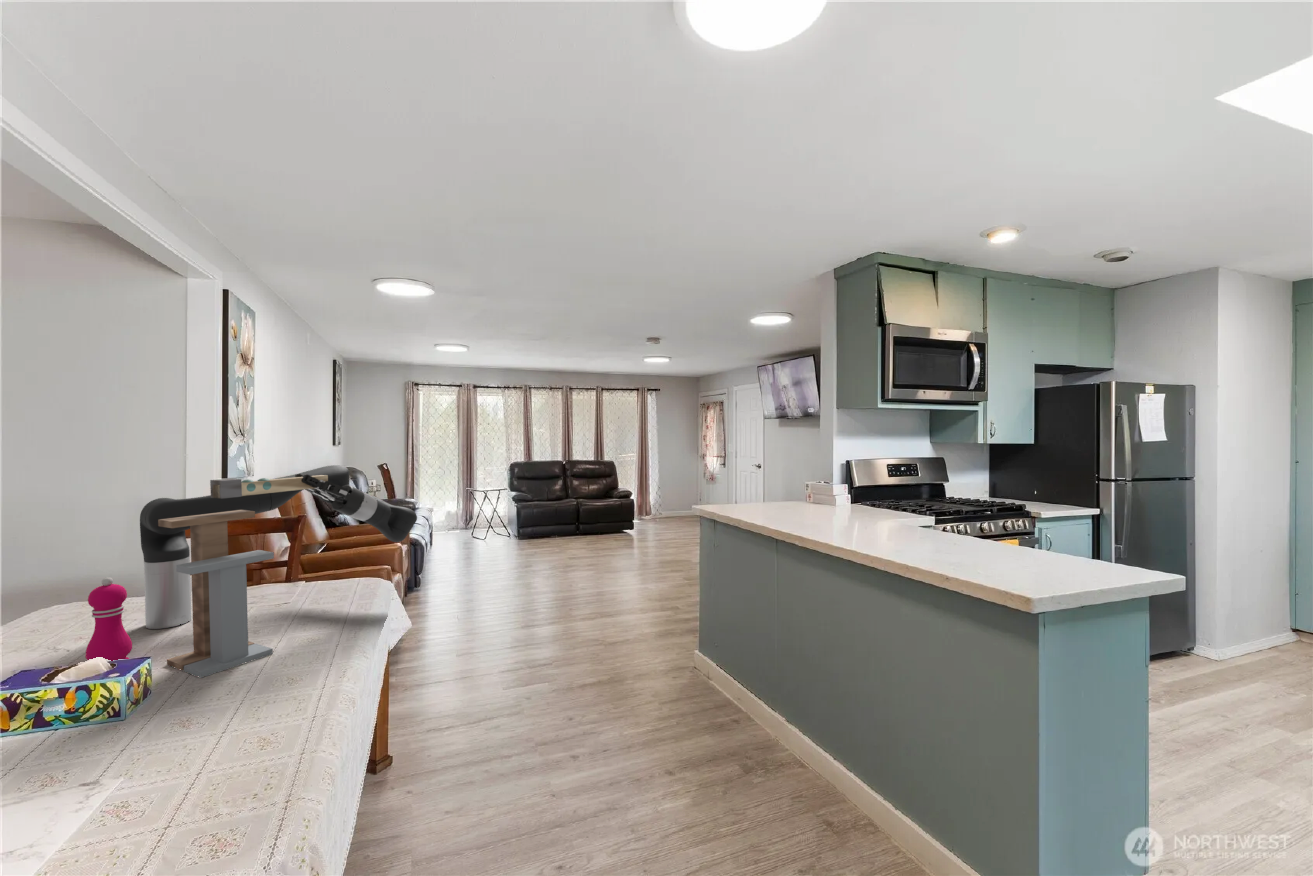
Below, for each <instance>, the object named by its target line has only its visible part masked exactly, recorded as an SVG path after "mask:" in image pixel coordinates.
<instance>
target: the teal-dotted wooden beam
mask: <svg viewBox="0 0 1313 876" xmlns="http://www.w3.org/2000/svg"><path fill="white" fill-rule="evenodd" d="M312 477H314V478H316V479H318V480H323V481H328V475H316V476H312ZM302 478H303V477H293V478H282V479H275V478H270V479H271V480H269V478H266V477H262V478H259V479H257V480H252V479H244V480H242V479H241V478H230V477H229V478H221V479H210V480H209V485H210V488H209V489H210V495H211V498H221V499H223V498H232V497H241V496H246V495H256V494H265V493H274V492H284V491H293V490H302V489H304V490H305V489H312V488H314V487H311V486H309V485H307V484H305V483H303V482H302V481H301V480H302ZM302 491H303V490H302Z"/></svg>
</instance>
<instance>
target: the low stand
mask: <svg viewBox="0 0 1313 876" xmlns="http://www.w3.org/2000/svg"><path fill="white" fill-rule="evenodd" d="M272 559H275V552H273V551H267V550H261V549H257V550H252V551H246V552H240V553H235V554H234V553H233V554H230V555H229V554H228V556H223V557H217V558H212V559H206V560H201V561H195V562H191V561H190V563H184V564H179V565H176V572H180V573H185V574H189V575H190V576H192V574H197V573H203V572H208V574H209V612H210V649H211V658H207V659H204V660H201V661H198V662H195V663H191V664H188V665H185V666H184V671H185V672H184V671H183V672H184V673H186V672H188V673H187V674H189V673H191V674H193V675H192V676H194V675H195V676H194V677H196V676H199V677H200V679H201V677H202V678H204V677H203V676H205V677H208V676H211V675H214V674H217V673H220V672H222V671H226V670H228V669H232V668H234V666H235V667H238V666H240V664H241V665H243V664H242V663H244V664H246V663H245V662H247V663H250V662H252V661H251V660H253V661H255V660H254V659H256V660H258V659H262V658H264V656H265V657H267V655H268V656H270V655H273V654H274V651H273V648H272V647H269V646H266V645H263V644H259V643H257V642H256V643H255V642H254V643H255V644H252V645H249V646H248V641H249V628H248V627H249V624H248V622H249V621H248V620H249V619H248V586H247V585H248V583H247V580H248V579H247V578H248V577H247V565H248V564H251V563H252V564H253V563H257V562H262V561H267V560H268V561H269V560H272ZM261 657H262V658H261ZM249 661H250V662H249ZM216 672H217V673H216ZM213 673H214V674H213ZM191 674H190V675H191ZM199 677H198V678H199Z"/></svg>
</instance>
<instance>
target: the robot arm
mask: <svg viewBox="0 0 1313 876" xmlns="http://www.w3.org/2000/svg"><path fill="white" fill-rule="evenodd" d="M316 475H328V481H323V480H318V479H316V478H314V477H312V476H316ZM293 477H303V478H302V480H301V481H302V482H303V483H305V484H307V485H309V486H311V487H314V488H312V489H302V490H293V491H284V492H274V493H265V494H256V495H246V496H241V497H232V498H223V499H221V498H211V494H210V495H205V496H204V495H203V496H196V497H190V498H180V499H179V498H177V499H175V498H169V497H159V498H155V499H153V500H151V501H149V502H147V503H146V504H145V505H144V506H143V508H142V510H141V512H140V515H139V531H140V532H139V533H140V535H139V536H140V546H141V550H142V555H143V572H144V573H143V574H144V604H145V605H144V609H145V611H144V612H145V613H144V617H145V628H146V629H149V630H159V629H167V628H172V627H177V626H181V625H184V624H186V623H189V622H190V621H191V620H192V581H191V575H189V574H185V573H180V572H176V565H179V564H184V563H190V562H191V549H190V546H189V544H188V541H187V539H186V538H187V537H186V531H187V530H190V526H185V527H178V528H167V527H160V526H158V520H160V519H168V518H177V517H185V516H193V515H202V514H210V513H218V512H227V511H235V510H248V511H255V515H258V514H262V513H266V512H270V511H274V510H276V509H278V508H280V507H282V506H283V505H285V504H286V503H287V502H288V501H290V500H292V499H293V498H294V497H295V496H296V495H298V494H299V493H301V492H302V491H304V490H305V491H307V492H308V493H310V494H311V495H313V496H315V497H317V498H319V499H320V500H321V501H323V502H325V503H327V504H330V506H331V508H332V510H333V511H336V512H339V513H341V514H343V515H345V516H348V517H349V518H352V519H354V520H358V521H362V522H363V523H365V524H368V525H370V526H372V527H374V528H376V529H377V530H378V531H379V532H380V533H381V534H382V535H383V536H384V537H385V538H386V539H387V540H388V541H390V542H393V543H401V542H403V541H404V540H405V539H406V538H407V536H408V534H409V533H410V532H411V530H412V528H413V527H414V525H415V524H416V522H417V520H418V515H417V513H416V512H415V511H414V510H413V509H411V508H410V507H405V506H400V505H399V506H398V505H393V504H390V503H389V502H386V501H384V500H383V499H381V498H379V497H377V496H375V495H370V494H369V493H366V492H364V491H362V490H360V489H358V488H357V487H355V486H353V485H350V469H349V468H348V467H346V466H345V465H338V464H337V465H335V464H334V465H327V466H321V467H317V468H313V469H310V470H308V471H303V472H300V473H295V474H290V475H286V476H282V477H281V476H280V477H276V478H275V477H274V479H282V478H293ZM268 479H269V478H268ZM271 479H272V478H270V479H269V480H271ZM188 621H189V622H188ZM180 624H181V625H180Z"/></svg>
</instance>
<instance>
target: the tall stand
mask: <svg viewBox="0 0 1313 876" xmlns="http://www.w3.org/2000/svg"><path fill="white" fill-rule="evenodd" d="M255 517H256V514H255V511H248V510H235V511H227V512H218V513H210V514H202V515H193V516H185V517H177V518H168V519H160V520H158V526H160V527H167V528H178V527H185V526H190V529H189V531H190V532H189V534H190V535H189V536H190V562H195V561H201V560H206V559H212V558H217V557H223V556H229V542H228V540H229V537H228V536H229V535H228V531H229V529H228V521H237V520H243V519H250V518H251V519H253V518H255ZM191 612H192V636H193V638H192V639H193V640H192V641H193V642H192V643H193V647H192V648H193V651H190V652H186V653H184V654H180V655H177V656H173V657H171V658H167V659H166V665H167V666H169V667H171V666H173V667H172V668H174V667H175V669H176V668H177V669H176V670H179V669H181V670H184V666H185V665H188V664H191V663H195V662H198V661H201V660H204V659H207V658H211V649H210V612H209V574H208V572H203V573H197V574H192V575H191ZM252 644H255V642H252V641H249V640H248V646H249V645H252ZM181 670H180V671H181Z"/></svg>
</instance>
